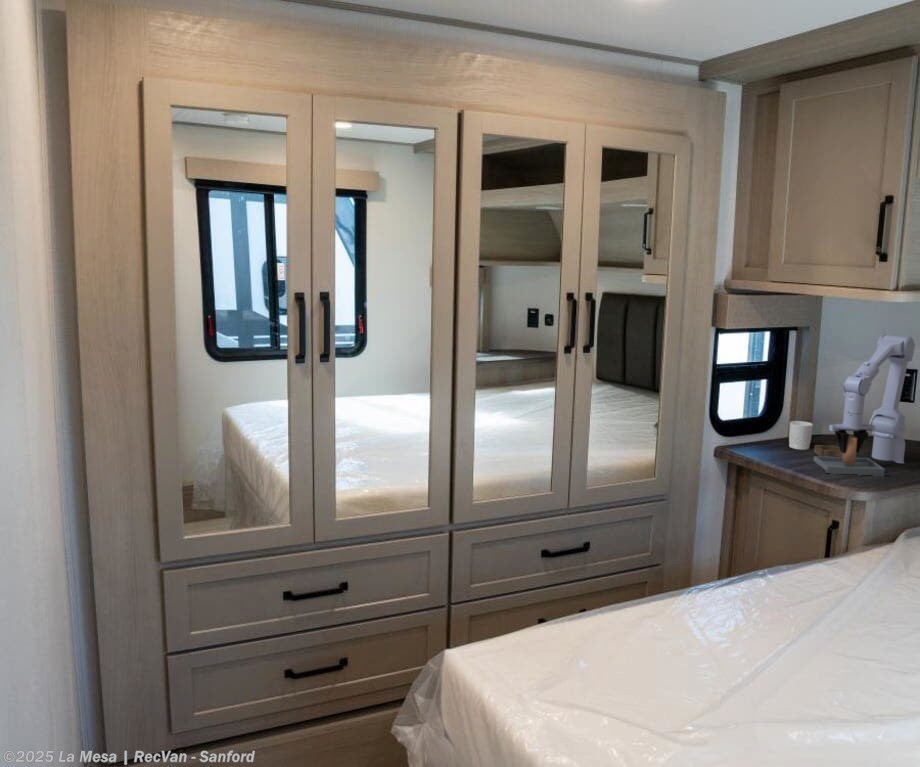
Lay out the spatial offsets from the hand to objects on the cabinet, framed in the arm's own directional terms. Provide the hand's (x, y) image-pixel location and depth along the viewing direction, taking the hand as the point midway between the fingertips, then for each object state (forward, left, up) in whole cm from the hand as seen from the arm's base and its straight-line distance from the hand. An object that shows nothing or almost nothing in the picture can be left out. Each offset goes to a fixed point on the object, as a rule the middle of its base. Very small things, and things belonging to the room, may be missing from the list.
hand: (849, 452), depth 256 cm
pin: (0, 0, -4) cm, 4 cm away
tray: (0, 0, -6) cm, 6 cm away
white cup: (+8, -25, -6) cm, 27 cm away
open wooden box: (+1, -15, -6) cm, 16 cm away
